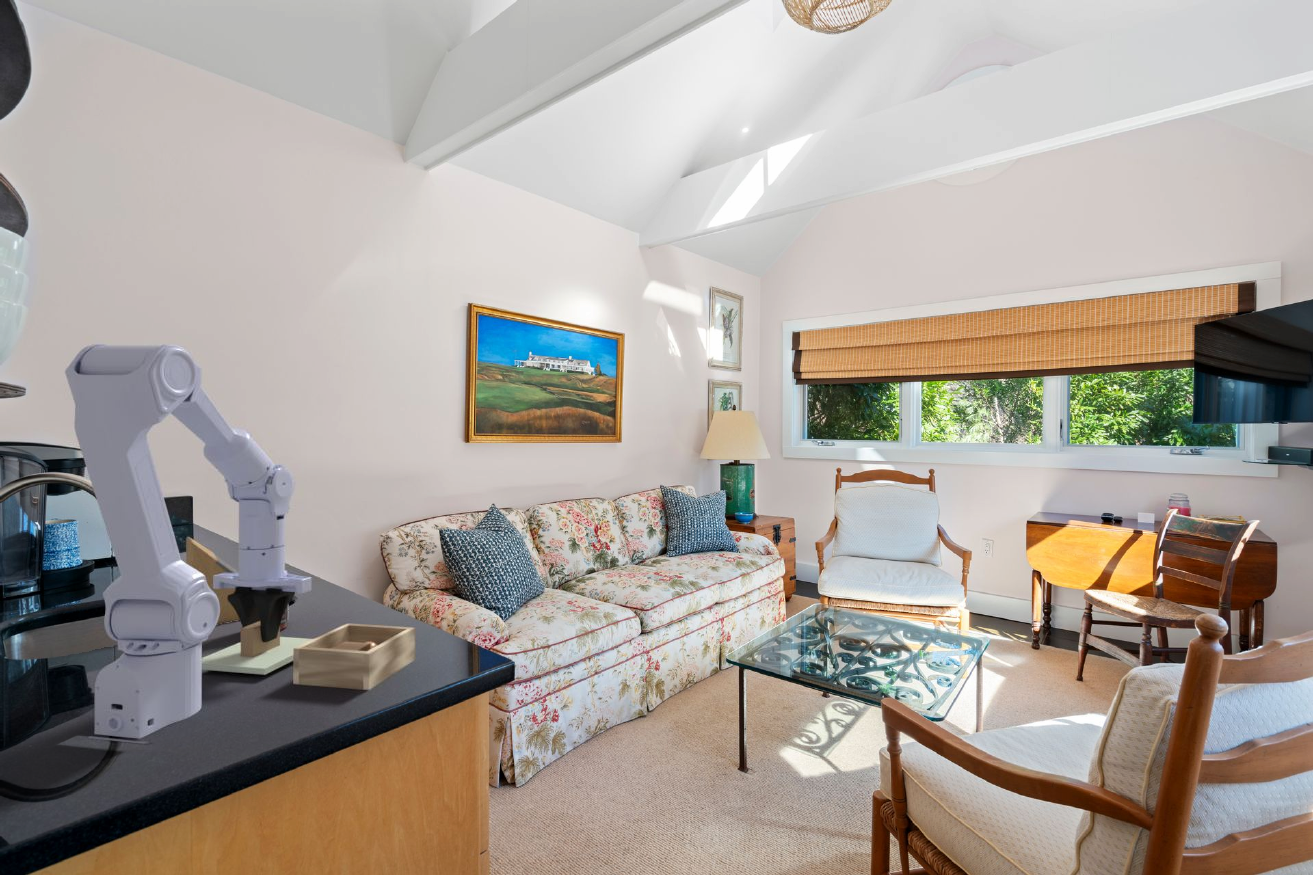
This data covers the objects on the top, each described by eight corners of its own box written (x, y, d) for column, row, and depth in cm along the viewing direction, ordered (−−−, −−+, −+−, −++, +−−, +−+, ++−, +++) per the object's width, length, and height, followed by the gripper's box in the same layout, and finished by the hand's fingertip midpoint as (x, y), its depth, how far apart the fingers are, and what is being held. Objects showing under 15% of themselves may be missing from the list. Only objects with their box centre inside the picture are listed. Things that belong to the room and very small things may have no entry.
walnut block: (351, 683, 83) (352, 653, 83) (324, 680, 84) (324, 651, 84) (370, 671, 87) (370, 643, 87) (344, 669, 88) (344, 641, 88)
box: (368, 695, 81) (369, 653, 81) (293, 689, 83) (293, 648, 83) (414, 664, 92) (415, 627, 92) (347, 659, 94) (347, 623, 93)
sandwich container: (291, 612, 118) (291, 533, 118) (191, 628, 108) (191, 542, 108) (281, 602, 125) (281, 527, 125) (185, 617, 115) (186, 535, 114)
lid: (265, 674, 84) (264, 639, 84) (190, 668, 86) (190, 633, 86) (324, 644, 95) (324, 613, 95) (257, 640, 97) (257, 609, 97)
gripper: (325, 543, 93) (325, 633, 94) (240, 539, 96) (240, 627, 96) (291, 552, 86) (290, 649, 87) (200, 548, 89) (200, 643, 89)
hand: (261, 639), depth 91 cm, fingers closed on lid
